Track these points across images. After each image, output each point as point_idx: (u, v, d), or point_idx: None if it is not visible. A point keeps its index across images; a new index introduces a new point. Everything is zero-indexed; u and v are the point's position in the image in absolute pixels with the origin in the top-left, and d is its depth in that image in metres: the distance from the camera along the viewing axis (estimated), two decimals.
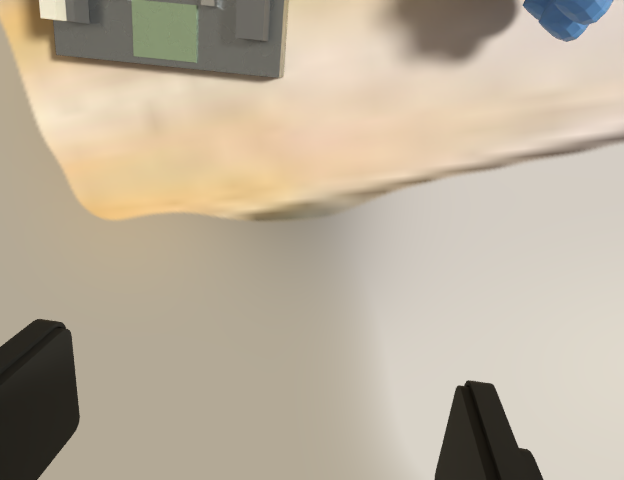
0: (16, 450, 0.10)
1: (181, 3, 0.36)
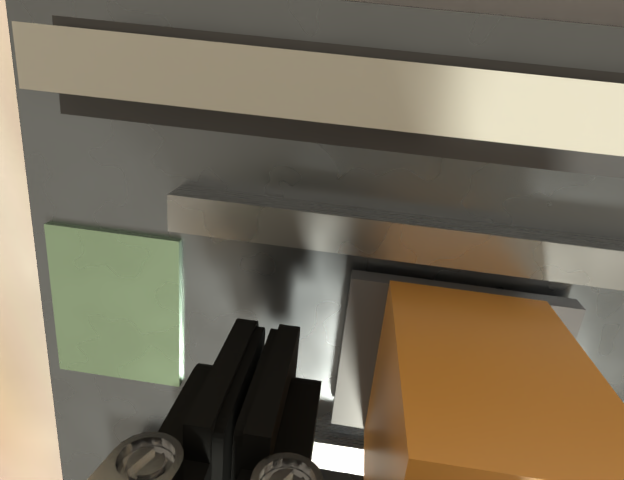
0: None
1: (182, 351, 0.15)
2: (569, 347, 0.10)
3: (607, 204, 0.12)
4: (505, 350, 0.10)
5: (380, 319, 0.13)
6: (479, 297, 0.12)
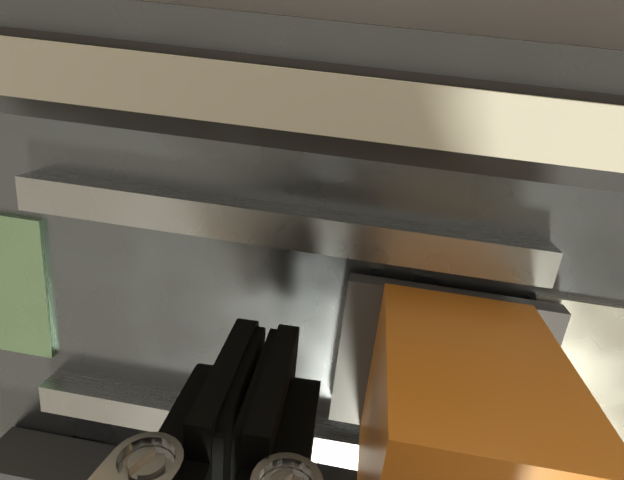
0: None
1: (53, 324, 0.16)
2: (550, 348, 0.11)
3: (411, 190, 0.13)
4: (488, 349, 0.10)
5: (375, 320, 0.14)
6: (469, 300, 0.13)
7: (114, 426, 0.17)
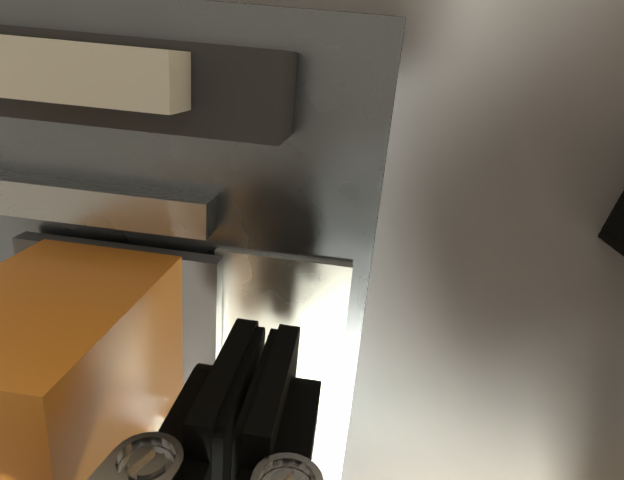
0: None
1: None
2: (134, 290, 0.11)
3: (81, 149, 0.13)
4: (63, 291, 0.11)
5: None
6: (115, 252, 0.13)
7: None
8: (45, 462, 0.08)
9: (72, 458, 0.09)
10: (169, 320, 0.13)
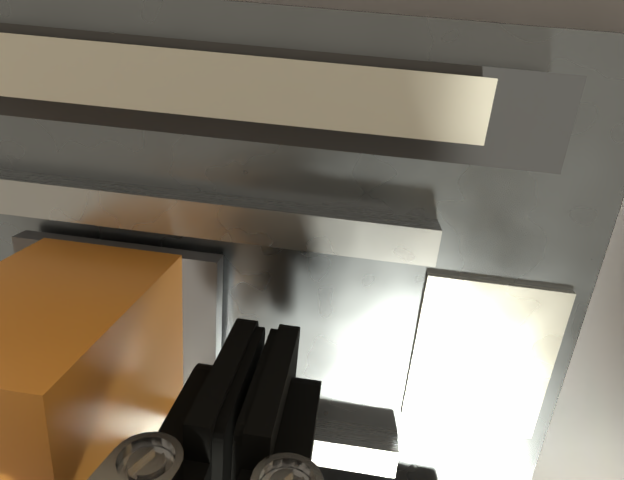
0: None
1: None
2: (134, 288, 0.11)
3: (296, 171, 0.13)
4: (62, 289, 0.11)
5: None
6: (115, 251, 0.13)
7: None
8: (45, 461, 0.08)
9: (73, 456, 0.09)
10: (169, 319, 0.13)
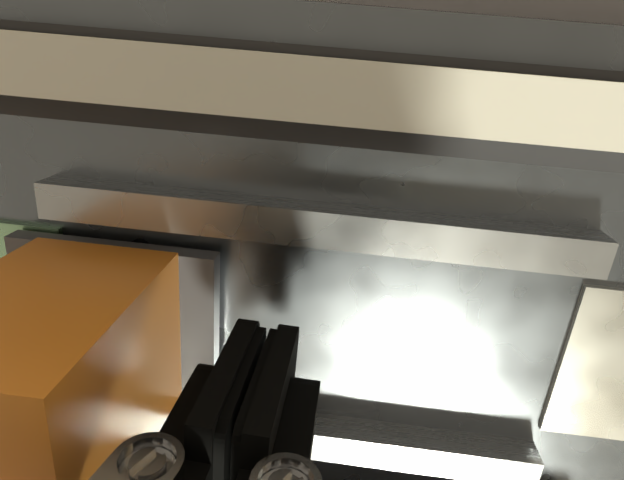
0: None
1: None
2: (131, 288, 0.11)
3: (456, 183, 0.13)
4: (58, 290, 0.11)
5: None
6: (110, 250, 0.13)
7: None
8: (47, 464, 0.08)
9: (74, 459, 0.09)
10: (167, 317, 0.13)
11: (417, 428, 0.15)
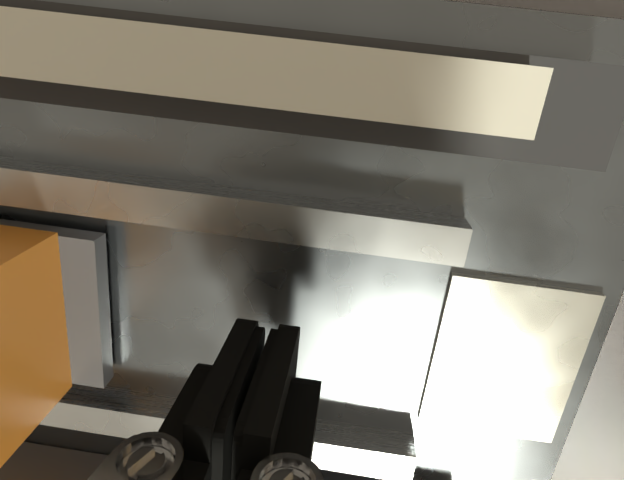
0: None
1: None
2: None
3: (317, 164, 0.12)
4: None
5: None
6: None
7: None
8: None
9: None
10: (41, 298, 0.12)
11: None
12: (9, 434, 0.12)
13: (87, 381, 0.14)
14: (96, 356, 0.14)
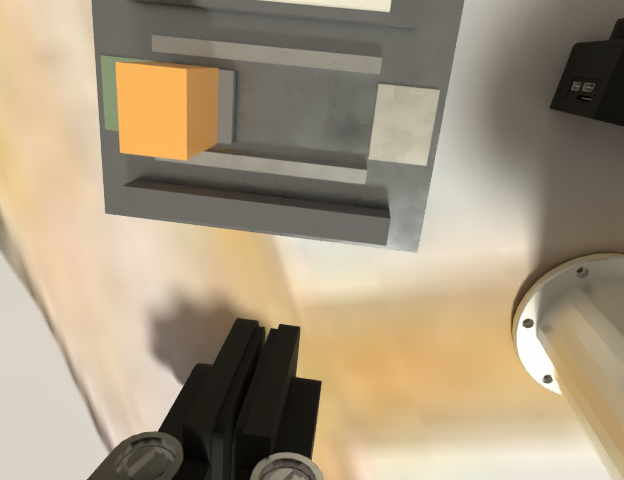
0: None
1: None
2: (203, 67, 0.29)
3: (323, 37, 0.31)
4: (177, 65, 0.29)
5: None
6: (191, 65, 0.31)
7: (187, 174, 0.35)
8: (184, 95, 0.26)
9: (189, 102, 0.27)
10: (214, 92, 0.31)
11: (314, 161, 0.34)
12: (205, 140, 0.31)
13: (224, 140, 0.33)
14: (229, 127, 0.33)
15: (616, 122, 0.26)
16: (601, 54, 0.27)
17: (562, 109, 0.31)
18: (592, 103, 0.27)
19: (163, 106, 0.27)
